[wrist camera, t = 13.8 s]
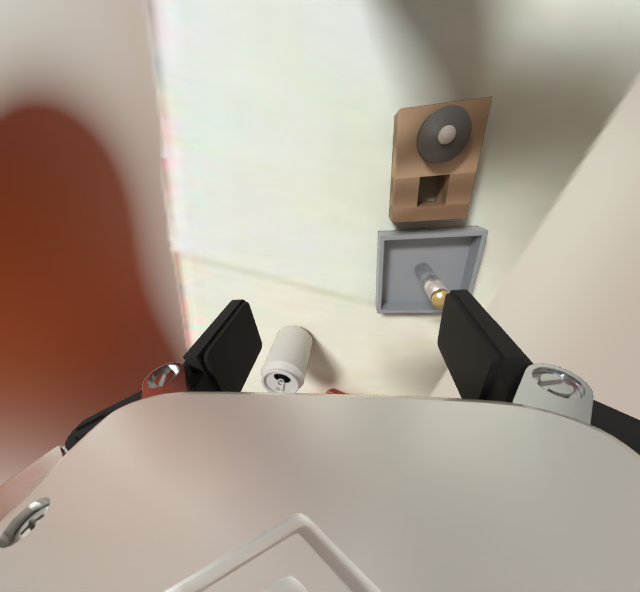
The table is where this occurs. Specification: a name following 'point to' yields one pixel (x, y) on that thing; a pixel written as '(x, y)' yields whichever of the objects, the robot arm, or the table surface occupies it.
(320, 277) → the table surface
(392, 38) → the table surface
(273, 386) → the can
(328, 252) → the table surface
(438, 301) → the lock pin
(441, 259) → the tray
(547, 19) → the table surface
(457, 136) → the block
